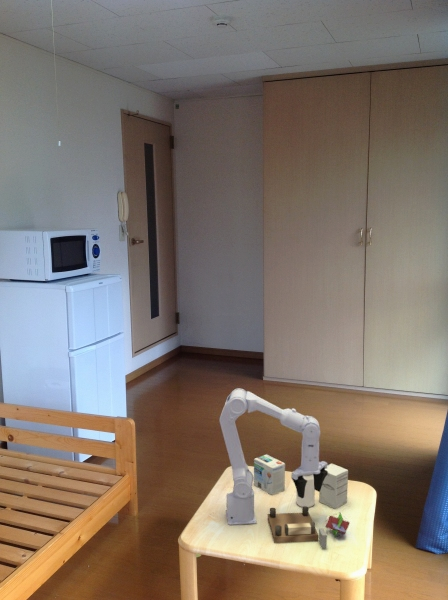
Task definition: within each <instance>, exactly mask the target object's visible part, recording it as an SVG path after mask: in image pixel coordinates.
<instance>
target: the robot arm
mask: <svg viewBox="0 0 448 600" xmlns="http://www.w3.org/2000/svg"><path fill="white" fill-rule="evenodd" d="M225 400H226V401H225V404H224V406H223V408H222V411H221V414H220V417H219V418H218V419H219V424H220V425H219V426H220V427H221V432H222V436H223V439H224V443H225V447H226V448H225V449H226V451H227V453H228V454H227V455H228V458H229V462H230V467H231V470H232V481H233V487H232V492H228V493H226V510H225V516H226V517H227V525H229V526H232V525H249V524H250V525H251V524H257V523H258V522H257V518H256V513H255V491H254V488H253V484H254V473H252V471H251V470H250V468H249V465H248V464H247V462H246V459H245V455H244V452H243V448H242V447H243V446H242V444H241V440H240V435H239V433H238V429H237V425H236V421H237V420H238V418H239V417H240V416H242V415H243V414H244V413H246V412H247V413H248V414H250V413H252V412H256V411H258V412H261V413H263V414H266V415H268V416H271V417H272V418H274V419H275V418H276V419H278V420H279V422H280V424H281V425H282V426H284V427H287V428H288V429H290V430H293V431H295V432H297V433H300V434H302V440H301V454H300V455H301V462H300V466H299V467H297V468H296V469H295V470H293V471H292V472H291V480H292V482H293V483H294V486H295V489H297V493H298V496H299V497H300V498H304V494H305V486H306V483H307V480H305V479H304V477H303V476H304V475H307V474H313V476H314V489H315V492H316V491H317V492H318V493H319V492H320V490H321V487H322V484H323V481H324V479H325V477H326V476H327V474H328V471H326V470H325V469H327V465H328V462H327V461H325V460H322V461H320V436H321V433H322V432H321V427H320V422H319V421H318V419H316V418H315V417H314V416H313V415H312V416H311V415H304V414H302V413H300V412H298V411H297V409H296V408H285V409H282V408H280V407H278V406H277V405H275V404H273V403H271V402H269V401H267V400H266V399H264V398H261V397H259V396H257V394H255V393H252V391H249V390H247V391H246V390H245V389H243V388H238V387H237V388H235V389H234V390H232V391H231V392H230V394H229V395H228V396H227V398H226V399H225Z"/></svg>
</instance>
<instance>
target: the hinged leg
mask: <svg viewBox="0 0 448 600" xmlns="http://www.w3.org/2000/svg"><path fill="white" fill-rule="evenodd" d="M315 528H316V521H313V520H312V521H311V525H310V523H300V524H285V534H286V535H299V534H311V533H315Z"/></svg>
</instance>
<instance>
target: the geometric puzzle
mask: <svg viewBox="0 0 448 600" xmlns="http://www.w3.org/2000/svg"><path fill="white" fill-rule="evenodd" d="M335 515H337V513H334V515H330V514H328V515H327V517H326V518H325V522H326V523H325V526H324V527H325V528H326V529H328V531H329V533H331V532H330V531H332V535H333V537H334V538H336V537H337V538H338V537H339V535H337V533H338V534H339V533H341V534H340V536H342V535H345V534H347V530H348V528H349V525H350V522H351V521H349V520H347V519H346V520H345V519H344V518H343V516H342V513H341V512H339V513H338V517H336V516H335Z"/></svg>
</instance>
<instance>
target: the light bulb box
mask: <svg viewBox="0 0 448 600" xmlns="http://www.w3.org/2000/svg"><path fill="white" fill-rule="evenodd" d="M285 474H286V463H285V462H283V461H281V460H279V459H277V458H274V457H273V456H270V455H269V454H267V453H266V454H263V455H260V456H258V457H256V458H254V459H253V486H255V487H256V488H259V489H260V490H261V491H263V492H265V493H267V494H268V495H270V496H274V495H276V494H279V493H281V492H284V491H285V489H286V488H285V487H286V486H285V484H286V483H285V481H286V480H285V479H286V477H285V476H286V475H285Z"/></svg>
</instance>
